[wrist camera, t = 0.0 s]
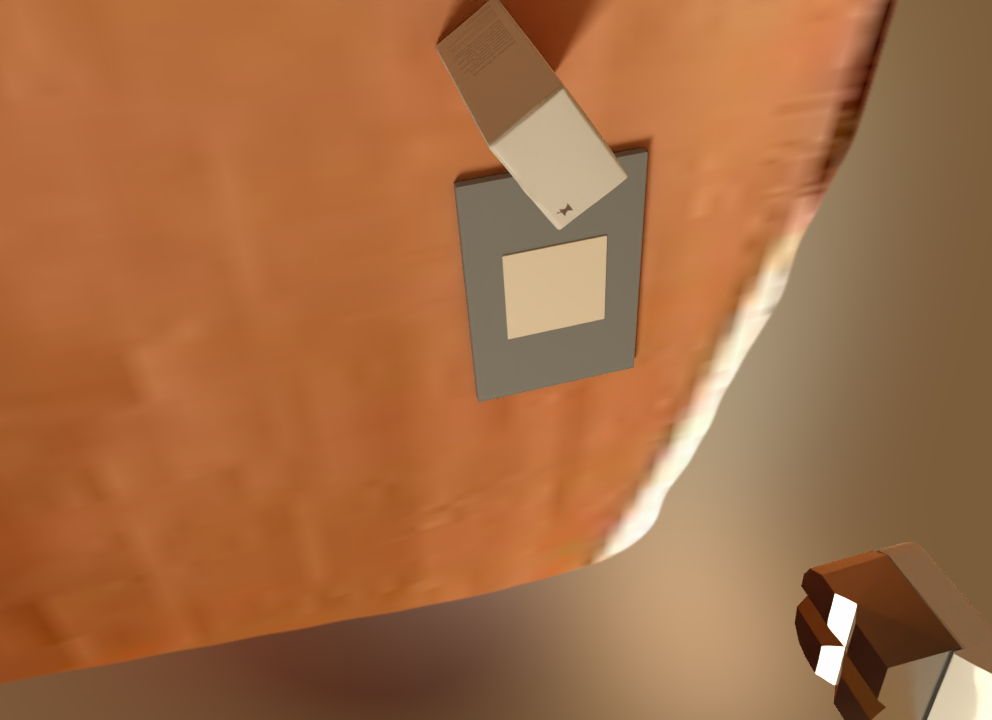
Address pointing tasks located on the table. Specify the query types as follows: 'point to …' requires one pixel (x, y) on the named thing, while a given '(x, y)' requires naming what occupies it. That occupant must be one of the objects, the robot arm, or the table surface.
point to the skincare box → (529, 115)
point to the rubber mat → (550, 282)
